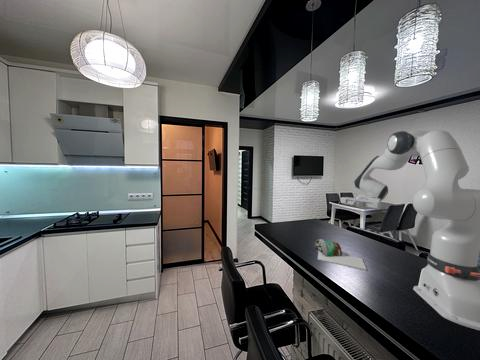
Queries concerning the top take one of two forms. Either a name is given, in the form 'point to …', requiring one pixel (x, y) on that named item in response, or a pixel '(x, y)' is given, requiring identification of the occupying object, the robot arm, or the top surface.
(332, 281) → the top surface
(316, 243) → the food container
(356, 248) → the top surface
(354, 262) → the rubber mat
